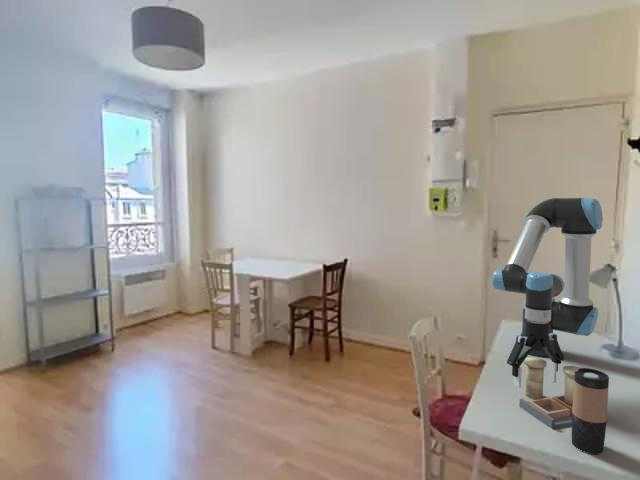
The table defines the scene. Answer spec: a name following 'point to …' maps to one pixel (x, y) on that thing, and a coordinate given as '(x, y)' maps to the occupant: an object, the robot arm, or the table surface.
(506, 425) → the table surface
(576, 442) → the travel mug
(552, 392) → the table surface
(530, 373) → the cream pawn-shaped knob
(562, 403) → the housing
